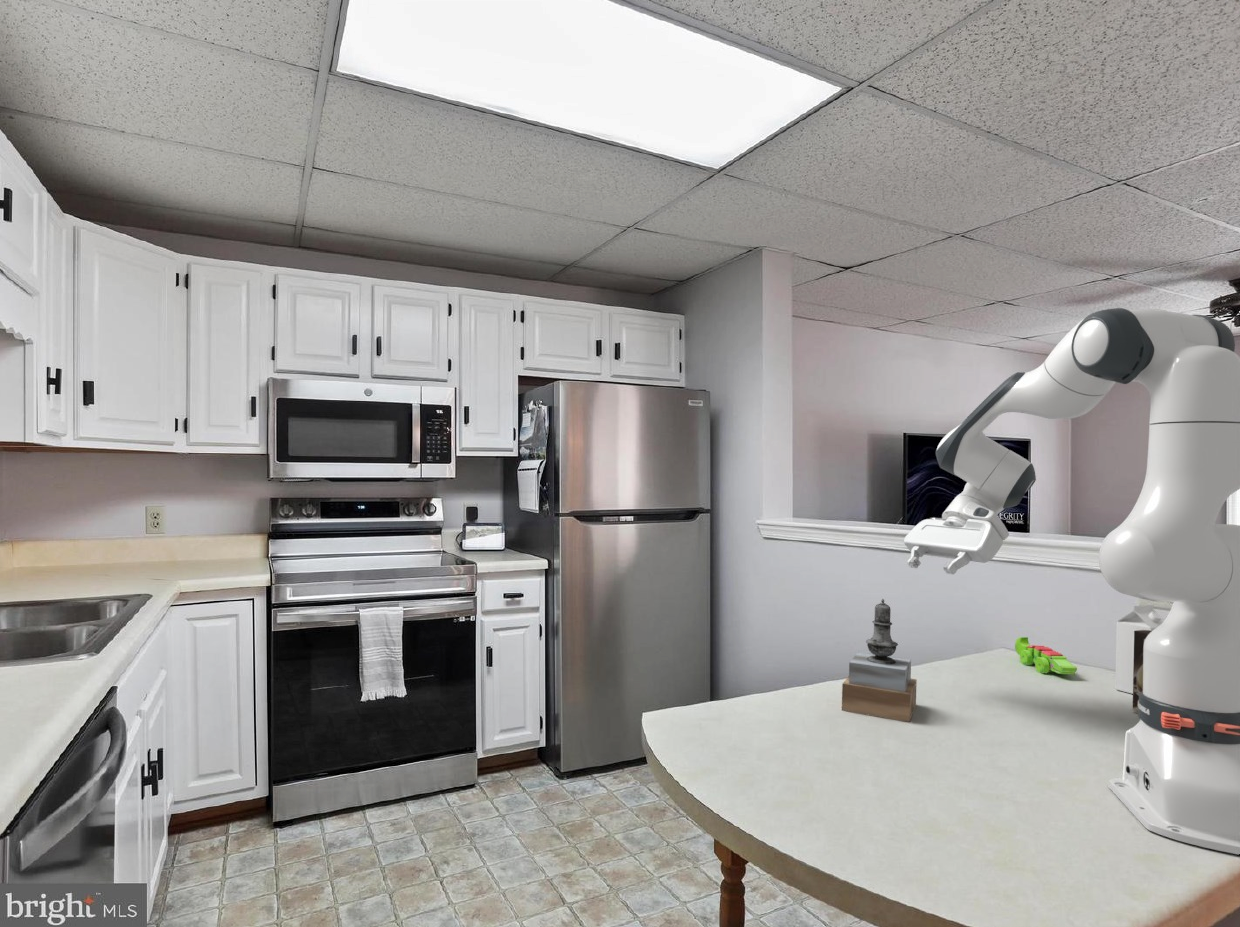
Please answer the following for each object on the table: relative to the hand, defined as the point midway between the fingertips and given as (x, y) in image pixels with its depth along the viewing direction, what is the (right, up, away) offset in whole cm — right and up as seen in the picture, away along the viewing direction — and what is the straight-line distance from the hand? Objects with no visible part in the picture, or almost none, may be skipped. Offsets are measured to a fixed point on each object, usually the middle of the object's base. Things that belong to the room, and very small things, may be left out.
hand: (929, 568), depth 144 cm
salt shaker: (-11, -17, -5) cm, 21 cm away
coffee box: (+43, -28, -6) cm, 52 cm away
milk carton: (+51, -29, +11) cm, 60 cm away
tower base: (-12, -26, -5) cm, 29 cm away
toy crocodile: (+41, -29, +30) cm, 58 cm away
